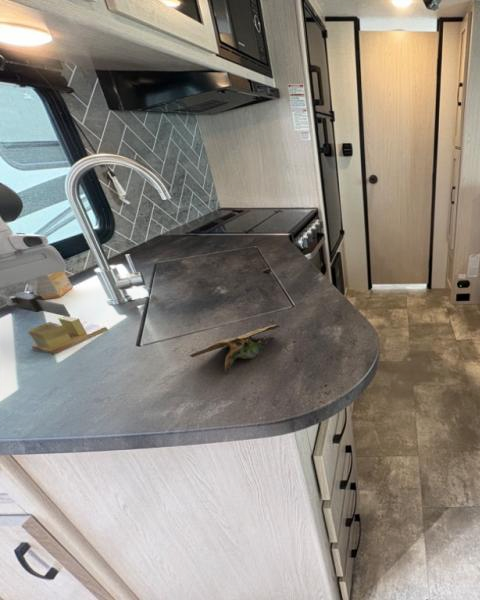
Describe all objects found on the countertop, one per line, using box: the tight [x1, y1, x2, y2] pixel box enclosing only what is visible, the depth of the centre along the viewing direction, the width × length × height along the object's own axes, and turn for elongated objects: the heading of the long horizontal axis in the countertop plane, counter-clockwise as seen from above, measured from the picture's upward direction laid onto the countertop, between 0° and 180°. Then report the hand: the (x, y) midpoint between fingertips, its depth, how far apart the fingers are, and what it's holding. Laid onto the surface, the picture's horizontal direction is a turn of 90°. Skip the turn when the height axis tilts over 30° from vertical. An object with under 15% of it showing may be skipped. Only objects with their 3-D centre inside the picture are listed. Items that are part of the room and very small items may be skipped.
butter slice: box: [58, 316, 86, 336], centre depth 76 cm, size 5×2×4 cm, turn 71°
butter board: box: [27, 321, 108, 356], centre depth 75 cm, size 8×11×5 cm
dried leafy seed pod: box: [188, 324, 280, 375], centre depth 67 cm, size 18×14×8 cm
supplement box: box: [36, 270, 73, 301], centre depth 97 cm, size 8×5×13 cm, turn 22°
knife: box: [9, 291, 71, 317], centre depth 73 cm, size 18×2×3 cm, turn 71°
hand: (24, 301), depth 75 cm, fingers closed on knife, 2 cm apart
